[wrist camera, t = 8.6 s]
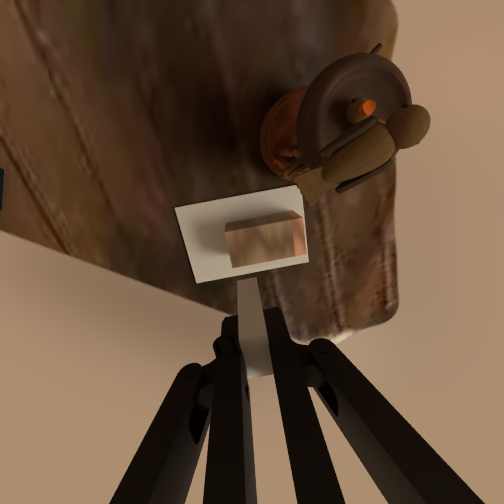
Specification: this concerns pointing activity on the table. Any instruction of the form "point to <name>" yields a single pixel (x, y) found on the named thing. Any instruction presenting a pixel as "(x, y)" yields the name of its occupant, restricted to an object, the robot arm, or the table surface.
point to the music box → (342, 125)
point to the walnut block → (265, 238)
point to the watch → (1, 186)
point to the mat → (226, 211)
